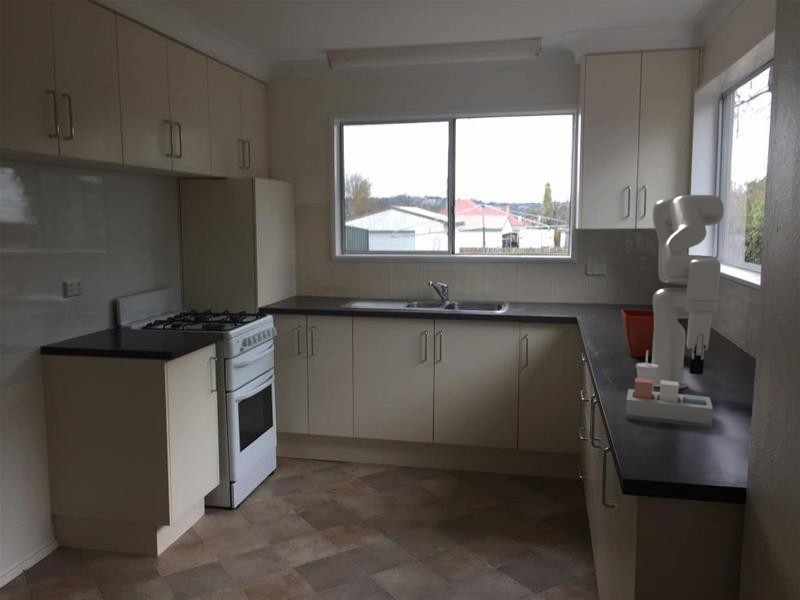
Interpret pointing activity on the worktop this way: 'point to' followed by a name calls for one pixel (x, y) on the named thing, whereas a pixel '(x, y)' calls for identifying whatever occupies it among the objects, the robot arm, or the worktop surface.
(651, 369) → the smoothie
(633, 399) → the keypad housing
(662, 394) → the white key
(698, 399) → the blue key
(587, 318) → the worktop surface
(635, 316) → the plant pot
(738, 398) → the worktop surface
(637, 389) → the red key
